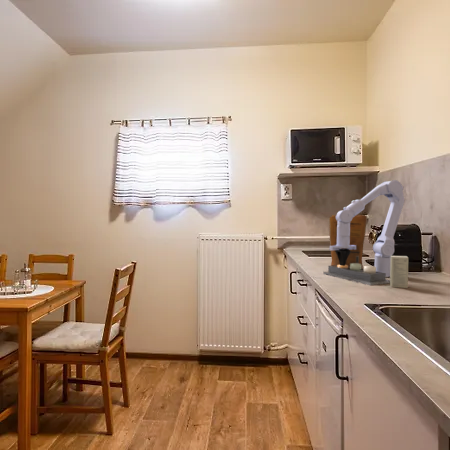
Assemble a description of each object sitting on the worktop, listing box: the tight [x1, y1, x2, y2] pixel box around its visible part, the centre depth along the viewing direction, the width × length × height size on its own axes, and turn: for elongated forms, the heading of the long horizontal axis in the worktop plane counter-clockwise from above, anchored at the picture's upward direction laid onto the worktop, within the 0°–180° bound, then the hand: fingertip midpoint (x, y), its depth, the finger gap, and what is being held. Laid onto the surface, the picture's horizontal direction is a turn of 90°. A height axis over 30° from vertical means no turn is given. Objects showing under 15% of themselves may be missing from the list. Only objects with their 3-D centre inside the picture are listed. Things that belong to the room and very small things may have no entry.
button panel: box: [323, 265, 390, 286], centre depth 163 cm, size 12×28×4 cm, turn 26°
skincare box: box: [389, 255, 409, 289], centre depth 146 cm, size 6×4×12 cm
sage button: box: [350, 263, 361, 271], centre depth 163 cm, size 5×5×3 cm
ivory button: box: [363, 265, 376, 274], centre depth 156 cm, size 5×5×3 cm
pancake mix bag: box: [328, 214, 368, 269], centre depth 196 cm, size 7×19×28 cm, turn 67°
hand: (342, 265), depth 170 cm, fingers closed, pressing on orange button
